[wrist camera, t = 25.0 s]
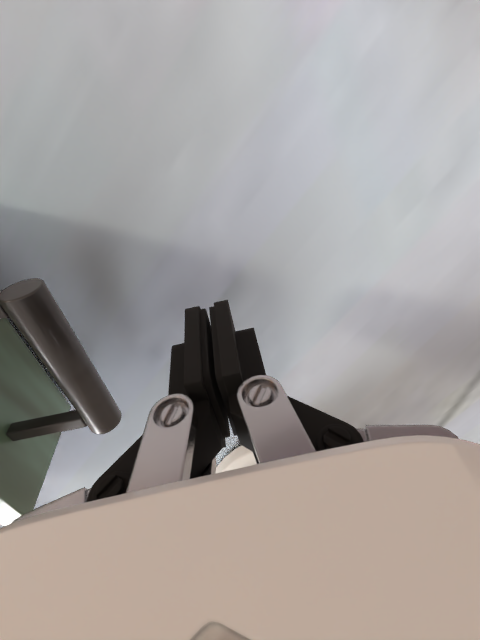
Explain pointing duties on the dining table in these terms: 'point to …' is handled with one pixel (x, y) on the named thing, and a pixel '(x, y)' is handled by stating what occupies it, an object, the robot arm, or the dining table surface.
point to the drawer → (41, 393)
